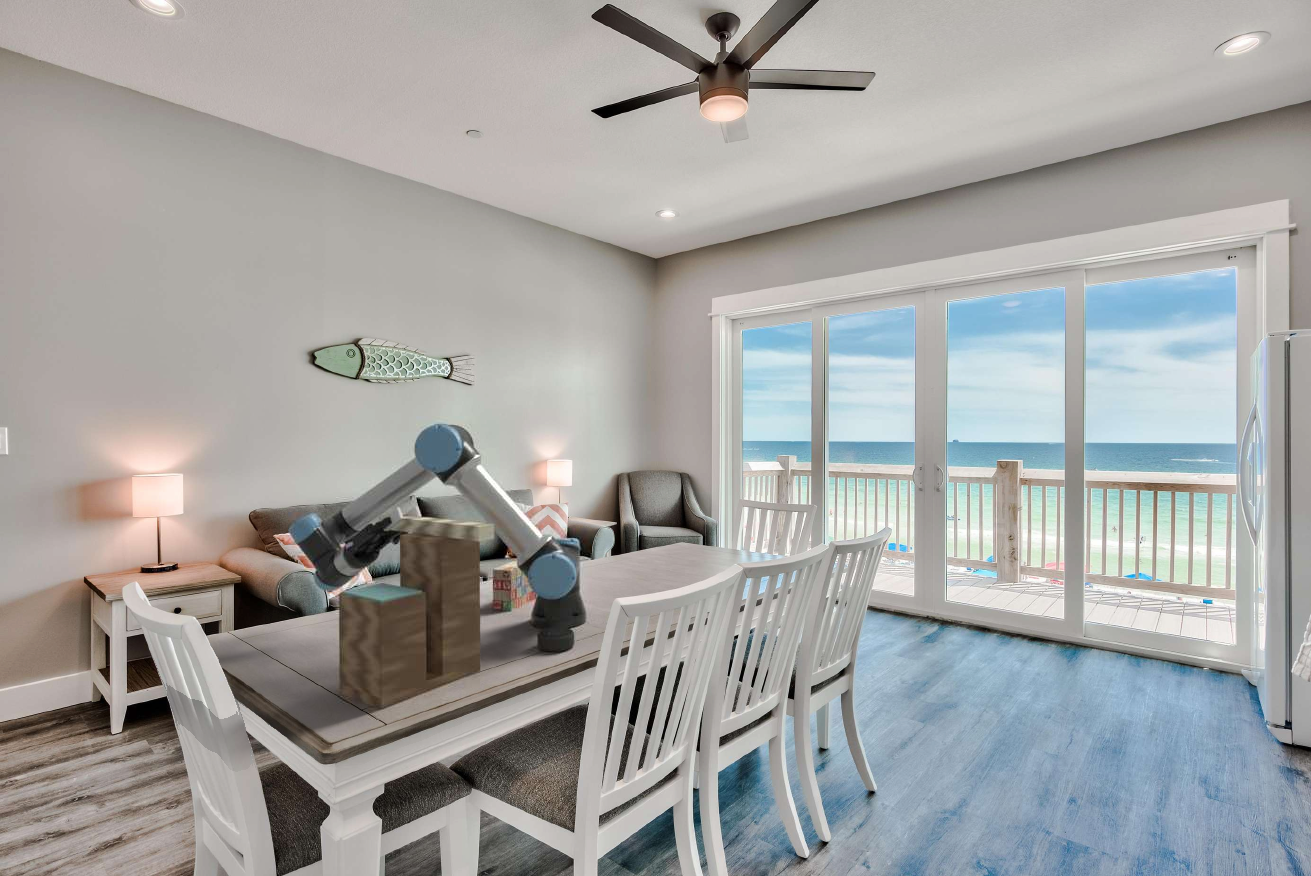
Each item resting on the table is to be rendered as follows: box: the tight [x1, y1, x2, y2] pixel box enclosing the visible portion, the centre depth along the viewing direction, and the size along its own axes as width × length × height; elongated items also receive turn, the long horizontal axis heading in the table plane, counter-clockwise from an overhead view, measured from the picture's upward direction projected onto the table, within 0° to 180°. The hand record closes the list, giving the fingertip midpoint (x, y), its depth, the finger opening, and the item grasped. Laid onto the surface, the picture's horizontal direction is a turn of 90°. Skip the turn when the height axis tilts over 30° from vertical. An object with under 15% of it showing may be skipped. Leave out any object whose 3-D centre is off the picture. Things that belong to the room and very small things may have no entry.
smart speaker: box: [537, 627, 575, 653], centre depth 160 cm, size 9×9×4 cm
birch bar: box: [378, 513, 495, 542], centre depth 144 cm, size 34×4×3 cm, turn 56°
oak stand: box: [338, 532, 481, 710], centre depth 137 cm, size 14×24×30 cm, turn 147°
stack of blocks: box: [492, 560, 537, 612], centre depth 203 cm, size 21×6×12 cm, turn 162°
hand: (409, 512), depth 149 cm, fingers closed on birch bar, 4 cm apart
